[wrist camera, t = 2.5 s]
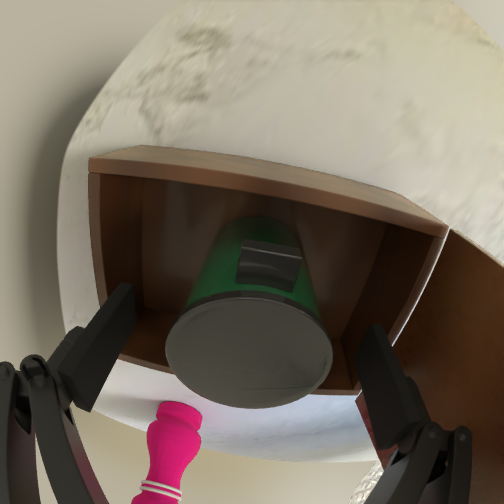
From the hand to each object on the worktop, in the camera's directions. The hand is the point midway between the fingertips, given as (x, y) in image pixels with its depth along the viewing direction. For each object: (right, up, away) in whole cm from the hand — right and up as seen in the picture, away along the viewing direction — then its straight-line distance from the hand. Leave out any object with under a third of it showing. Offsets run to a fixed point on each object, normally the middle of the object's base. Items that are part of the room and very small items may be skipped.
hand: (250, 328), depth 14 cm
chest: (0, +4, +7) cm, 8 cm away
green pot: (0, +3, +6) cm, 7 cm away
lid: (+11, -6, -8) cm, 15 cm away
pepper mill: (-10, -18, +18) cm, 28 cm away
